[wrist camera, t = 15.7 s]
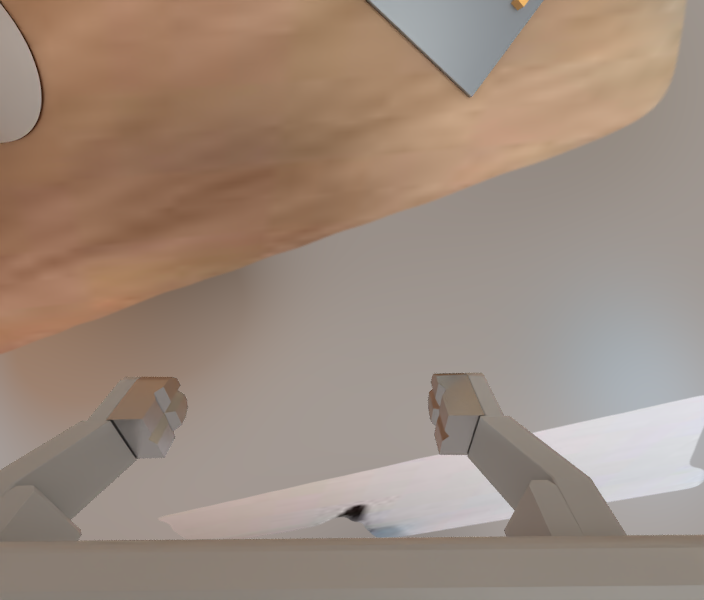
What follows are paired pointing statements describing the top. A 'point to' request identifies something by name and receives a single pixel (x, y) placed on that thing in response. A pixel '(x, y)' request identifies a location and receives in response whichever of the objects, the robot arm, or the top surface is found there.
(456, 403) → the robot arm
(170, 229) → the top surface
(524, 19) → the board
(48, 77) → the top surface
